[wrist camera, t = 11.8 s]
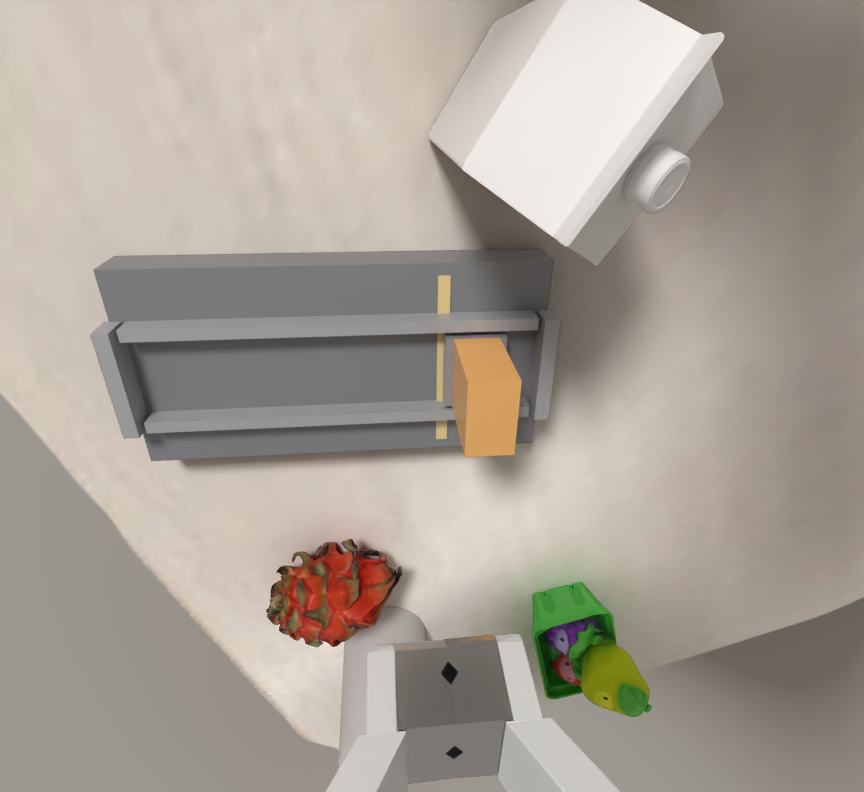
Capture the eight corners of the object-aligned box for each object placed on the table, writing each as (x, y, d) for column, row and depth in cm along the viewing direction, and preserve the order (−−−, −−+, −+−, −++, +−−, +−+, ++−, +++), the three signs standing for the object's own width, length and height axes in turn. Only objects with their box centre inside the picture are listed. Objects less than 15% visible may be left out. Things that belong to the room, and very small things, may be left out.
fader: (443, 331, 36) (458, 383, 30) (503, 329, 37) (530, 380, 30) (442, 396, 39) (456, 457, 32) (498, 394, 39) (522, 454, 33)
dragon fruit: (264, 556, 51) (387, 517, 52) (289, 647, 50) (413, 604, 51) (239, 574, 43) (387, 526, 44) (268, 683, 42) (418, 631, 43)
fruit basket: (517, 587, 54) (549, 698, 44) (605, 566, 54) (656, 672, 44) (534, 656, 60) (566, 767, 50) (613, 636, 59) (661, 745, 50)
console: (109, 256, 35) (72, 280, 31) (545, 248, 37) (567, 270, 33) (161, 437, 42) (136, 478, 38) (526, 421, 44) (542, 457, 40)
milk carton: (425, 136, 33) (478, 185, 17) (494, 19, 31) (636, -58, 14) (516, 202, 36) (639, 300, 19) (587, 98, 33) (799, 110, 17)
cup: (381, 669, 58) (383, 796, 48) (328, 635, 55) (317, 763, 44) (440, 633, 56) (456, 757, 46) (389, 595, 53) (393, 719, 42)
